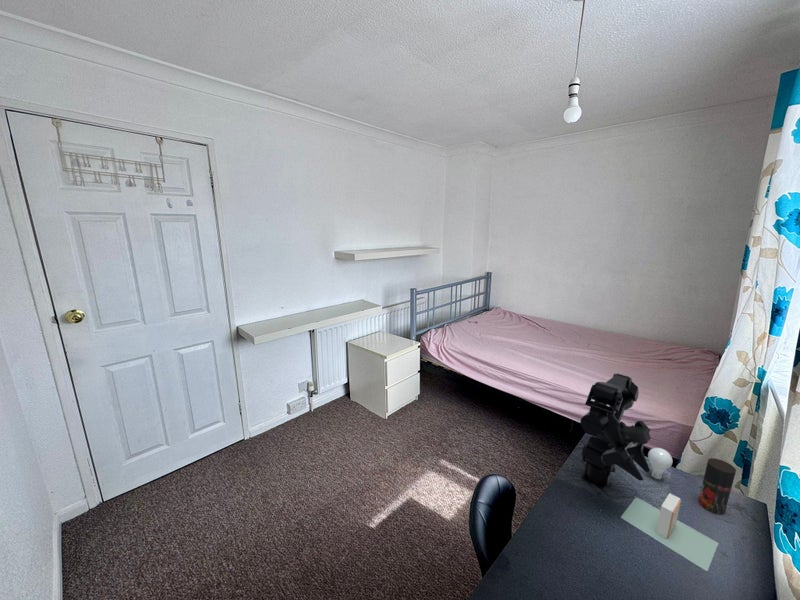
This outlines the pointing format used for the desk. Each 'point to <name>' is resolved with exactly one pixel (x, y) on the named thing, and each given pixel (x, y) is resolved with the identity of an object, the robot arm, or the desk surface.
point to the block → (668, 516)
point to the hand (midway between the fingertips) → (645, 475)
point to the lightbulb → (659, 461)
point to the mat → (672, 534)
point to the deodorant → (716, 486)
